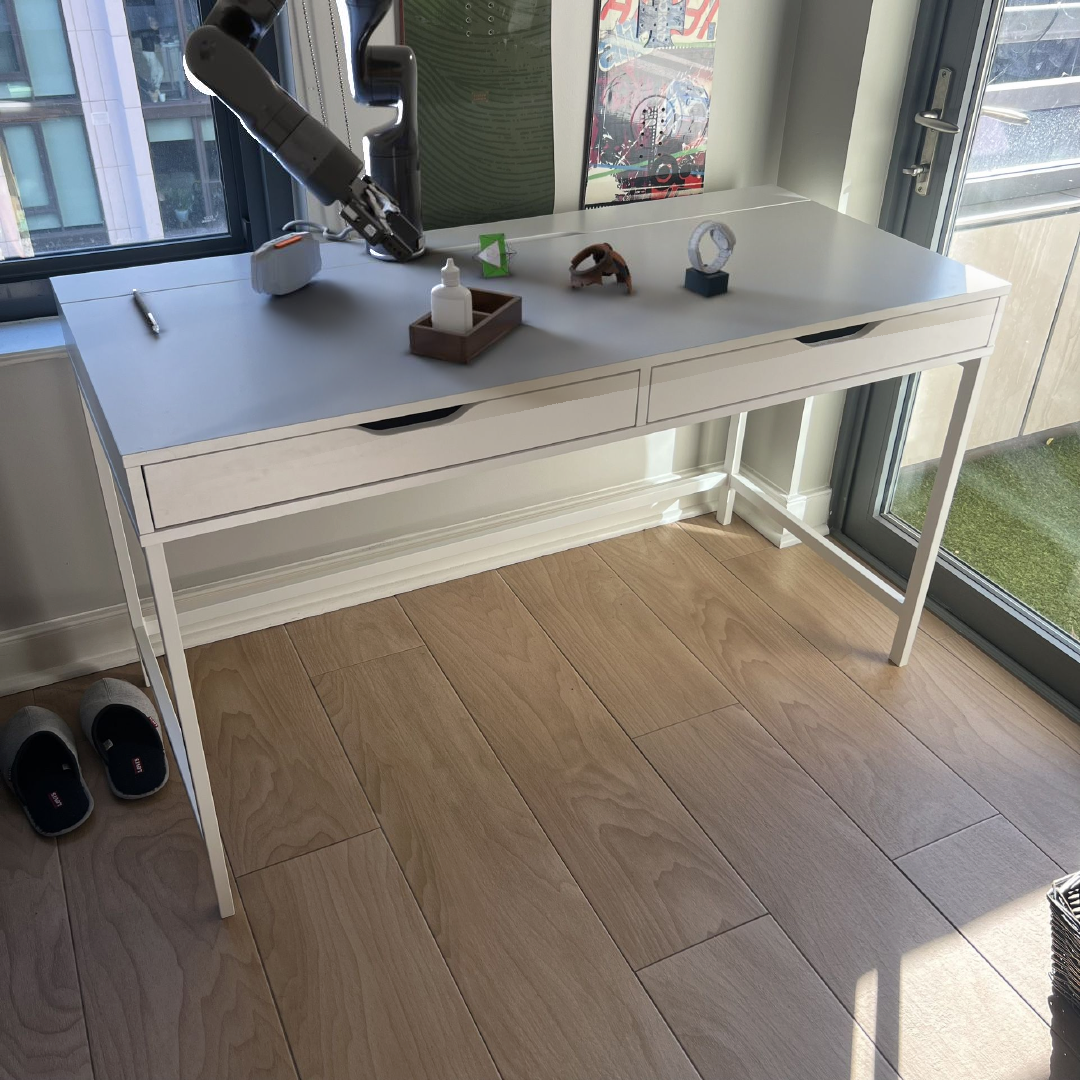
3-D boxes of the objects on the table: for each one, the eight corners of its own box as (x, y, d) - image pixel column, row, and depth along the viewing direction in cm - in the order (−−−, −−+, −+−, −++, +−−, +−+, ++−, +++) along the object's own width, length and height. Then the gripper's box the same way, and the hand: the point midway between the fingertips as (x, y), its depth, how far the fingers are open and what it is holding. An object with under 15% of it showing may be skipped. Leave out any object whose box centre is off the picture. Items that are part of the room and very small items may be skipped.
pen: (155, 334, 153) (153, 327, 152) (131, 292, 167) (130, 285, 166) (161, 333, 153) (160, 326, 153) (137, 291, 167) (136, 285, 167)
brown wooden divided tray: (409, 353, 149) (408, 325, 147) (468, 312, 162) (467, 286, 160) (467, 364, 146) (466, 336, 144) (522, 322, 159) (522, 296, 157)
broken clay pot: (636, 303, 168) (615, 262, 162) (583, 324, 171) (560, 284, 166) (637, 260, 176) (617, 220, 170) (586, 280, 179) (564, 242, 174)
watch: (736, 290, 172) (744, 222, 166) (699, 299, 168) (706, 230, 162) (712, 280, 176) (719, 213, 170) (675, 289, 172) (681, 221, 166)
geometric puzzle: (465, 253, 179) (472, 223, 172) (504, 249, 181) (512, 220, 174) (475, 289, 177) (482, 261, 170) (514, 285, 179) (523, 257, 171)
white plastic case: (312, 273, 176) (307, 225, 172) (326, 277, 175) (321, 228, 170) (251, 300, 165) (244, 249, 161) (266, 303, 164) (259, 253, 160)
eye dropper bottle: (451, 352, 148) (448, 267, 141) (429, 339, 151) (425, 256, 145) (476, 344, 150) (475, 261, 143) (454, 332, 154) (451, 250, 147)
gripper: (328, 152, 129) (426, 246, 136) (345, 126, 141) (435, 213, 148) (289, 195, 132) (387, 285, 139) (309, 166, 144) (399, 250, 151)
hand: (411, 248), depth 143 cm, fingers open, 8 cm apart
